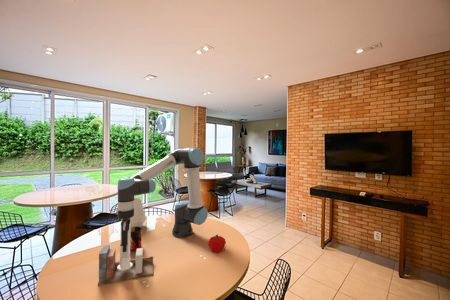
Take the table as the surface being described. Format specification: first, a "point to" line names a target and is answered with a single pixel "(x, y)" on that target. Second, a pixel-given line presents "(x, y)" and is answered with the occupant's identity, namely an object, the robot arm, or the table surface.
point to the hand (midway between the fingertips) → (125, 255)
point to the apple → (216, 243)
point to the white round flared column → (125, 262)
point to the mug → (135, 238)
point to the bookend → (139, 260)
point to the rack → (111, 274)
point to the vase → (138, 214)
